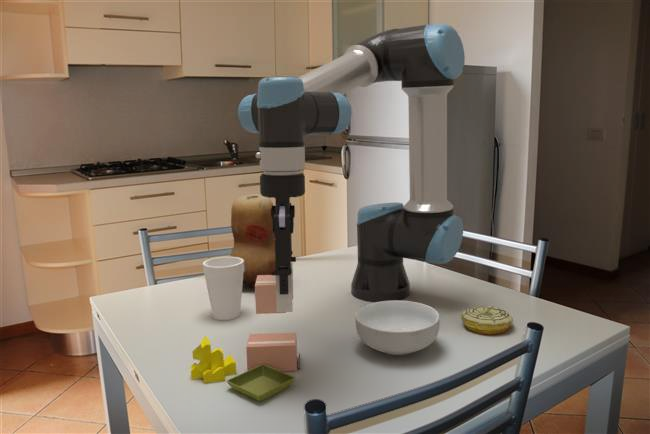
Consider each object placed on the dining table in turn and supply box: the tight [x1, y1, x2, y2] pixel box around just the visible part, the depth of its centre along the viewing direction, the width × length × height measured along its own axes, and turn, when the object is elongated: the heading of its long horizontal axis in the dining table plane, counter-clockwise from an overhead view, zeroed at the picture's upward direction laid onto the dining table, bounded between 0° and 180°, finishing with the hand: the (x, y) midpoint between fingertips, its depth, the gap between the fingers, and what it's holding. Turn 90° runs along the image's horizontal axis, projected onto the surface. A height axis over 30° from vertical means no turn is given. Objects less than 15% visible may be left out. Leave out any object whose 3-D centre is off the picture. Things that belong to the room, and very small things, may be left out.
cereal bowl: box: [354, 299, 441, 356], centre depth 114 cm, size 17×17×7 cm
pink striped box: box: [245, 332, 301, 372], centre depth 108 cm, size 10×6×5 cm, turn 92°
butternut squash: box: [229, 193, 276, 288], centre depth 154 cm, size 14×13×25 cm
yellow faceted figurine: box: [190, 335, 237, 384], centre depth 104 cm, size 6×8×8 cm
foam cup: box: [202, 256, 244, 321], centre depth 133 cm, size 10×9×13 cm
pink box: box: [254, 275, 287, 315], centre depth 99 cm, size 5×6×5 cm
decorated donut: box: [461, 305, 514, 336], centre depth 124 cm, size 10×11×4 cm
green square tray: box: [226, 364, 296, 402], centre depth 99 cm, size 9×9×2 cm
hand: (285, 304), depth 100 cm, fingers closed on pink box, 6 cm apart
